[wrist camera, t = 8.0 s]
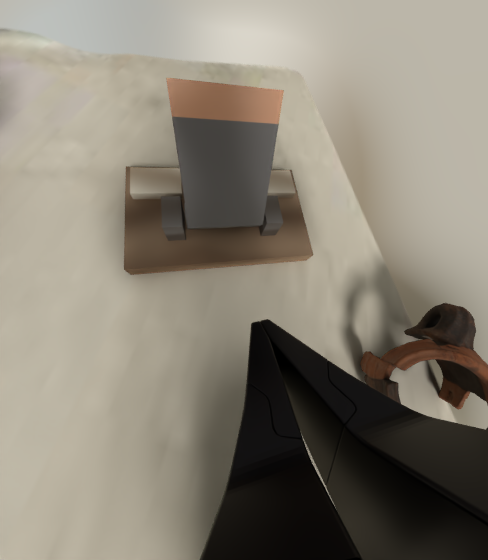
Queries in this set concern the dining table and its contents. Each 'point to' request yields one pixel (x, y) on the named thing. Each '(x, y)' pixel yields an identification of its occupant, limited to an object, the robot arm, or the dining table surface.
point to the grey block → (224, 150)
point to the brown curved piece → (435, 356)
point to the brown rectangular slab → (206, 242)
